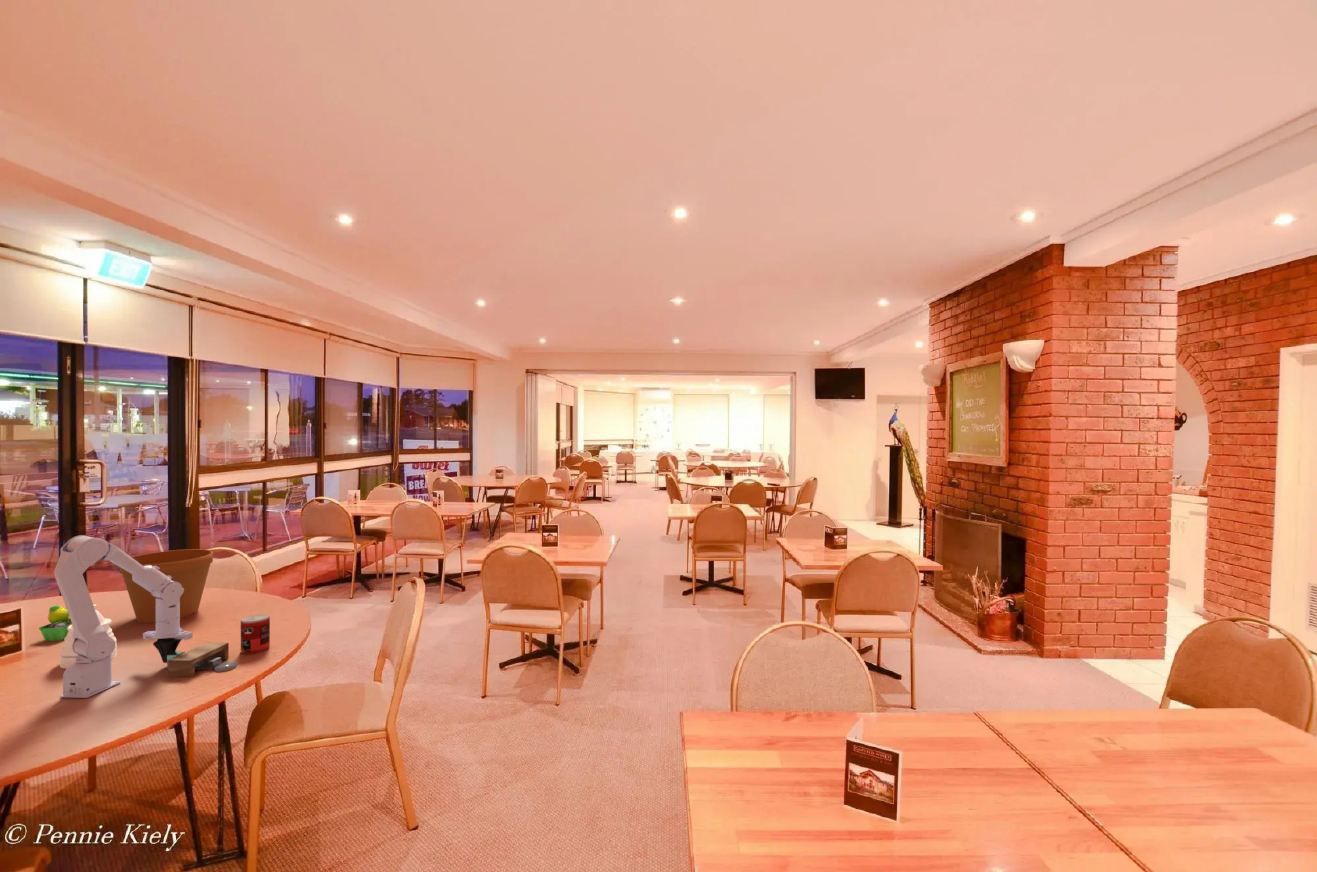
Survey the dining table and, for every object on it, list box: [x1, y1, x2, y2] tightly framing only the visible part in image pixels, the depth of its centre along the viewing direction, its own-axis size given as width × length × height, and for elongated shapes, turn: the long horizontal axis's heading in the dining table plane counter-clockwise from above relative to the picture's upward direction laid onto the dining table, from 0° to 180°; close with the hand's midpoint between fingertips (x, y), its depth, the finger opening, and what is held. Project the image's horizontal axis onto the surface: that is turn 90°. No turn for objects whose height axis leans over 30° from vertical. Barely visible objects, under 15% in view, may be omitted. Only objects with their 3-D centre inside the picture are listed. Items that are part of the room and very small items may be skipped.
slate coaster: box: [213, 660, 238, 673], centre depth 173 cm, size 6×6×1 cm
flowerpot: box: [119, 548, 214, 624], centre depth 222 cm, size 28×28×24 cm
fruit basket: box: [38, 604, 72, 642], centre depth 199 cm, size 11×9×11 cm
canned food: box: [240, 613, 271, 655], centre depth 188 cm, size 8×8×11 cm
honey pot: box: [59, 603, 118, 670], centre depth 179 cm, size 13×13×18 cm
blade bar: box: [166, 650, 222, 671], centre depth 174 cm, size 3×15×4 cm, turn 87°
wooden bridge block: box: [167, 641, 230, 678], centre depth 174 cm, size 14×7×5 cm, turn 177°
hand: (167, 661), depth 174 cm, fingers closed
